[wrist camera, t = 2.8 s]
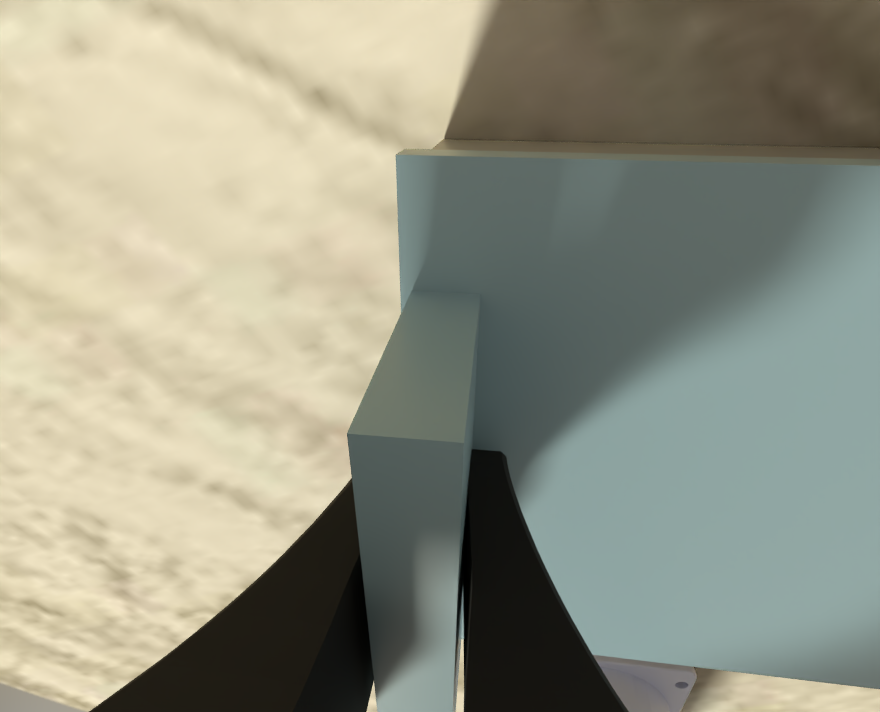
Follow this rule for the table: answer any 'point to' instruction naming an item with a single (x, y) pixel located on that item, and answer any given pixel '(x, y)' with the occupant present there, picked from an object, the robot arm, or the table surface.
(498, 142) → the tub
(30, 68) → the table surface
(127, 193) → the table surface
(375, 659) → the lid
